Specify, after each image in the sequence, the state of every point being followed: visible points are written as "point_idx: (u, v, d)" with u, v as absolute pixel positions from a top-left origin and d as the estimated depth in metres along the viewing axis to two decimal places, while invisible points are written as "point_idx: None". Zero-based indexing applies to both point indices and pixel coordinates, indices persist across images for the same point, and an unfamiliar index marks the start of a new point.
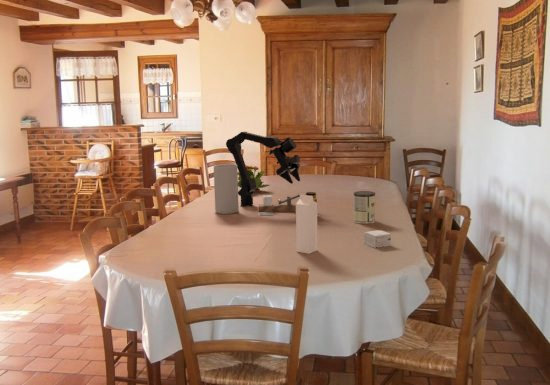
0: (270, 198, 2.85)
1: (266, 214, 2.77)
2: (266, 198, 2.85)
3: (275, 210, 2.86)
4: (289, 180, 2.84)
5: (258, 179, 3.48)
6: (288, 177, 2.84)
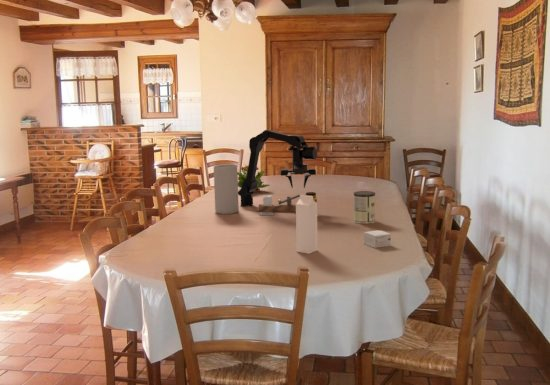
0: (270, 198, 2.85)
1: (266, 214, 2.77)
2: (266, 198, 2.85)
3: (275, 210, 2.86)
4: (291, 184, 2.87)
5: (258, 179, 3.48)
6: None
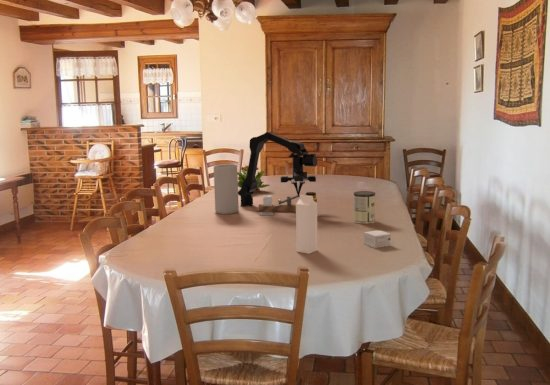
0: (270, 198, 2.85)
1: (266, 214, 2.77)
2: (266, 198, 2.85)
3: (275, 210, 2.86)
4: (296, 191, 2.87)
5: (258, 179, 3.48)
6: (295, 188, 2.87)
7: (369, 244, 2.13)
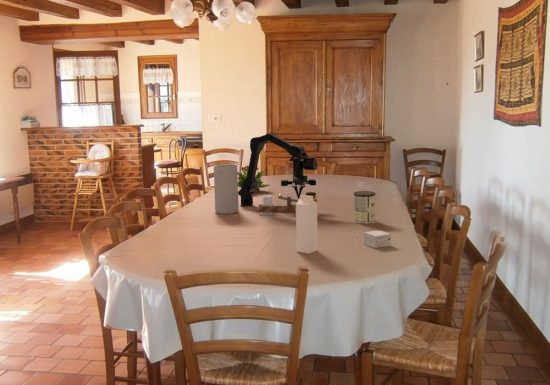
0: (270, 198, 2.85)
1: (266, 214, 2.77)
2: (266, 198, 2.85)
3: (275, 210, 2.86)
4: (297, 194, 2.88)
5: (258, 179, 3.48)
6: None
7: (369, 244, 2.13)
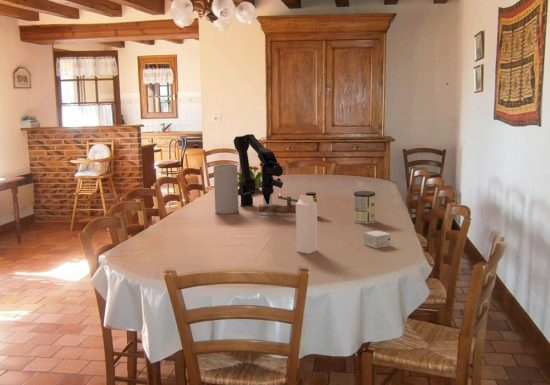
0: (270, 198, 2.85)
1: (266, 214, 2.77)
2: None
3: (275, 210, 2.86)
4: (267, 200, 2.85)
5: (258, 179, 3.48)
6: (268, 197, 2.84)
7: (369, 244, 2.13)
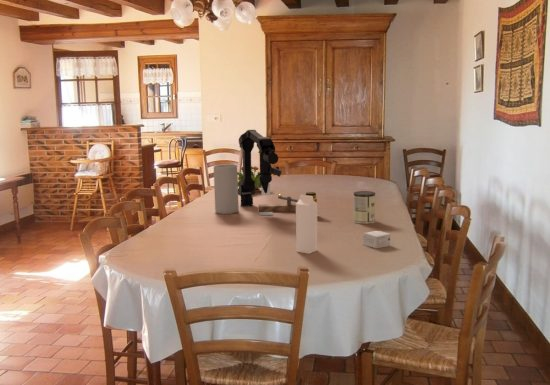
0: (268, 187, 2.75)
1: (266, 214, 2.77)
2: None
3: (275, 210, 2.86)
4: (265, 189, 2.75)
5: (258, 179, 3.48)
6: (266, 186, 2.74)
7: (369, 245, 2.12)
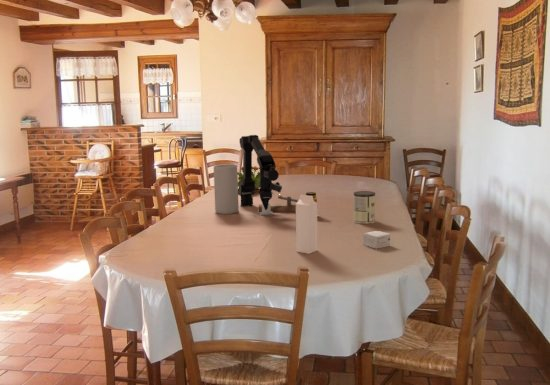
0: (269, 206, 2.77)
1: (266, 214, 2.77)
2: None
3: (275, 210, 2.86)
4: (266, 206, 2.74)
5: (258, 179, 3.48)
6: (266, 203, 2.73)
7: (369, 245, 2.12)
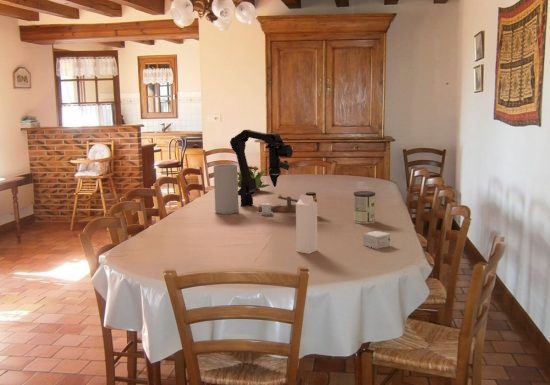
0: (269, 206, 2.77)
1: (266, 214, 2.77)
2: (264, 206, 2.77)
3: (275, 210, 2.86)
4: (274, 183, 2.86)
5: (258, 179, 3.48)
6: (275, 180, 2.85)
7: (370, 245, 2.12)
